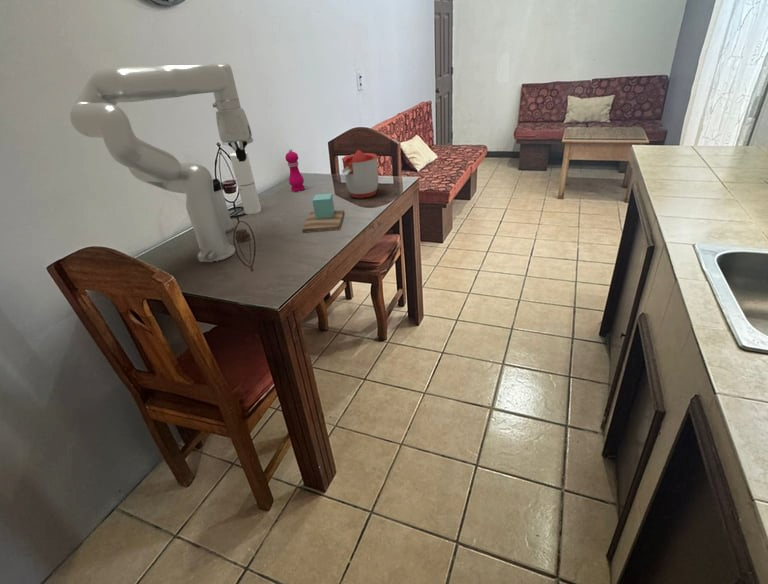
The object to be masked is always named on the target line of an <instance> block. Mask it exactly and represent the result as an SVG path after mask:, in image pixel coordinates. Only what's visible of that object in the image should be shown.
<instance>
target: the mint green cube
mask: <svg viewBox="0 0 768 584" xmlns="http://www.w3.org/2000/svg"><path fill="white" fill-rule="evenodd" d="M333 198H334V197H333V193H323V194H321V193H320V194H315V195H314V197H313V198H312V203H313V204H312V205H313V212H315V217H316V219H321V218H333V215H334V212H335V210H336V209H335V206H334V203H335V202H334V199H333Z"/></svg>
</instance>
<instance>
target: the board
mask: <svg viewBox="0 0 768 584" xmlns="http://www.w3.org/2000/svg"><path fill="white" fill-rule="evenodd" d="M334 210H335V212H334V215H333V218H321V219H316V217H315V212H314V211H310V213H309V215H308V216H307V219H306V220H305V222H304V225H303V226H302V233H308V232H307V231H316V232H319V231H318V230H329V229H339V228H340V229H341V227H340V225H341V226H342V223H343V220H342V218H343V219H344V216H343V215H345V209H334ZM341 222H342V223H341Z"/></svg>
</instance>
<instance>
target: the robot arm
mask: <svg viewBox="0 0 768 584" xmlns="http://www.w3.org/2000/svg"><path fill="white" fill-rule="evenodd" d="M237 89H238V88H237V85H236V82H235V78H234V74H233V70H232V67H231V65H230V64H228V63H217V64H216V63H214V64H213V63H211V64H193V65H192V64H191V65H188V64H187V65H185V64H184V65H179V64H177V65H174V64H157V65H135V66H133V65H131V66H130V65H129V66H118V67H116V66H115V67H114V66H113V67H108V68H106V67H105V68H100V69H98V70H96V71H95V72H94V73H93V74H92V75H91V76H90V78H88V80H87V82H86V83H85V85H84V87H83V88H82V90H81V92H80V94H79V95H78V97H77V99H76V100H75V102H74V103H73V105H72V107H71V108H70V109H71V110H70V112H69V118H70V122H71V125H72V126H73V128H74V129H75V130H76V131H77V132H78V133H79V134H81V135H82V136H85V137H89V138H98V139H99V138H102V139H103V141H104V144H105V147H106V149H107V151H108V153H109V154H110V156H111V157H112V158H113V159H114V161H115V162H117V163H118V164H120V165H122V166H124V167H126V168H128V169H129V172H130V174H132V175H133V177H134V178H136V179H137V180H138V181H141V182H142V183H146V184H148V185H151V186H154V187H157V188H159V189H162V190H164V191H168V192H172V193H177V194H185V195H186V197H185V199H186V200H185V201H186V202H185V206H186V212H187V215H188V218H189V220H190V224H191V226H192V229H193V233H194V235H195V238H196V241H197V244H198V247H199V250H200V251H199V252H198V254H197V259H198V261H199V262H200V263H214V262H213V261H216V262H219V260H220V261H223V260H225V259H228V258H230V257H231V256H233V255H234V254H235V252H236V247H235V246H234V245H232V244H230V243H229V241H228V237H227V233H225V230H224V226H223V223H222V220H221V216H220V213H219V210H218V207H217V203H216V199H215V195H214V188H213V179H214V178H213V175H212V173H211V172H210V170H208V168H207V167H205V166H203V165H201V164H198V163H189V162H188V163H187V162H180V161H179V159H177V157H175V155H173V154H171V153H169V152H168V151H166V150H163V149H160V148H158V147H157V146H154V145H151V144H149V143H147V142H146V141H144V140H142V139H140V138H138V137H137V136H136V134H135V133H134V130H133V128H132V124H131V122H130V119H129V117H128V115H127V114H126V113H125V111H124V110H123V109H122V108H120V107H119V106H117V104H118V103H135V102H136V103H137V102H144V101H153V100H161V99H172V98H173V99H174V98H180V97H187V96H191V95H192V96H193V95H199V94H209V93H213V97H214V100H215V101H214V102H212V108H216V109H217V110H216V111H215V118H216V125H217V131H218V135H219V139H220V141H221V142H222V145H224V146H229V147H230V148H231V149H232V150H233V151H235V152H234V153H236V156H237V159H239V162H241V161H242V162H244V161H245V160H246V158H247V156H246V152H247V151H246V148H247V145H249V144H251V143H253V142H254V139H253V137H252V136H253V135H252V130H251V126H250V123H249V120H248V118H247V114H246V113H245V110H244V108H243V107H241V102H240V99H239V93H238V90H237ZM238 143H239V144H238Z"/></svg>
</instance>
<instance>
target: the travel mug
mask: <svg viewBox="0 0 768 584" xmlns="http://www.w3.org/2000/svg"><path fill="white" fill-rule="evenodd" d="M212 179H213V188H214V195H215V199H216V203H217V207H218V210H219V213H220V216H221V220H222V223H223V226H224V230H225V233H226V234H229V233H230V232H232V231H233V230H234V226H233V225H234V224H233V222H232V219H231V216H230V212H229V208H228V205H227V201H226V198H225V195H224V191H223V189H222V188H223V187H222V185H221V181H220V179H219V178H212Z"/></svg>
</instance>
